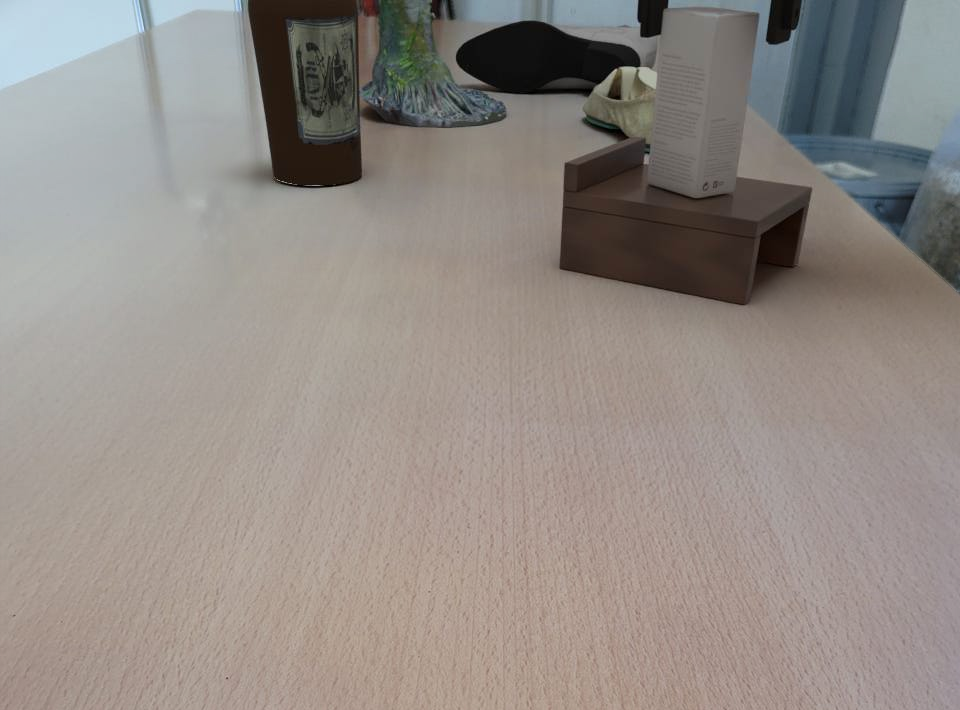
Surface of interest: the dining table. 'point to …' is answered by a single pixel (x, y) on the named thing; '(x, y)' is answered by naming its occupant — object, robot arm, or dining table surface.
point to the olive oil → (309, 87)
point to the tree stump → (420, 74)
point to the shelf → (675, 227)
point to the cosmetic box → (701, 99)
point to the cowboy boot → (553, 55)
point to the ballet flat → (625, 102)
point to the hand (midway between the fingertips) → (713, 38)
